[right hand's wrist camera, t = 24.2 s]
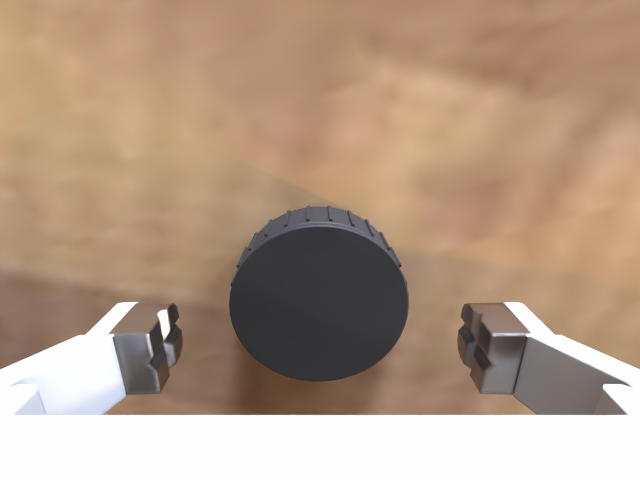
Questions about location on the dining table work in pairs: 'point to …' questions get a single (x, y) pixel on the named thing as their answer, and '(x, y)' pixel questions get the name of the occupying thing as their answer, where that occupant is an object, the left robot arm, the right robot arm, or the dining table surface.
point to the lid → (318, 295)
